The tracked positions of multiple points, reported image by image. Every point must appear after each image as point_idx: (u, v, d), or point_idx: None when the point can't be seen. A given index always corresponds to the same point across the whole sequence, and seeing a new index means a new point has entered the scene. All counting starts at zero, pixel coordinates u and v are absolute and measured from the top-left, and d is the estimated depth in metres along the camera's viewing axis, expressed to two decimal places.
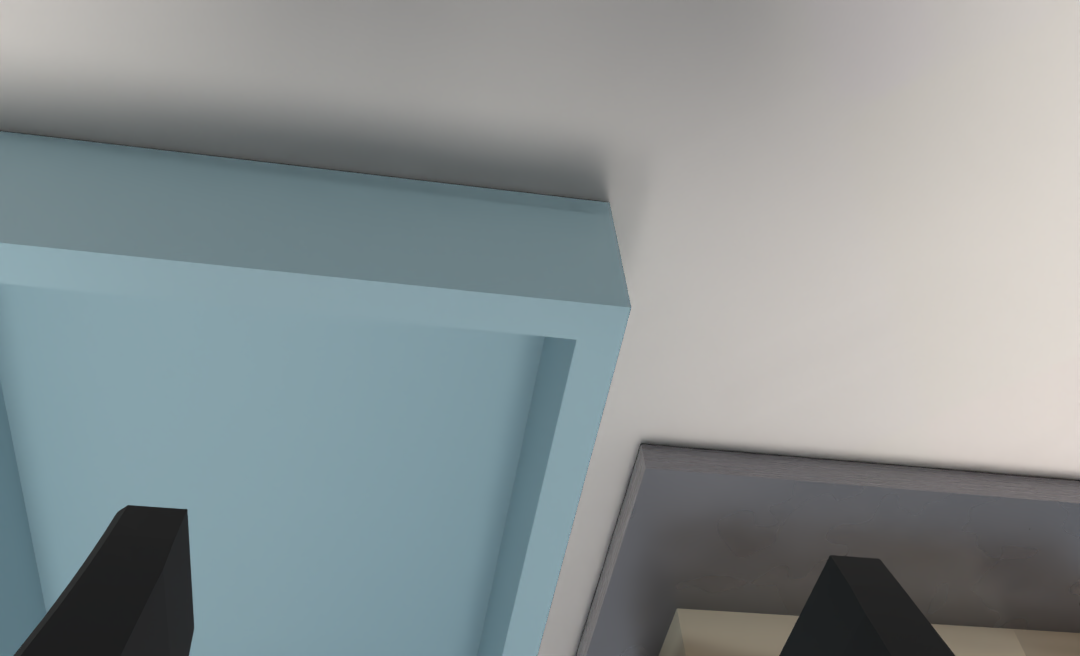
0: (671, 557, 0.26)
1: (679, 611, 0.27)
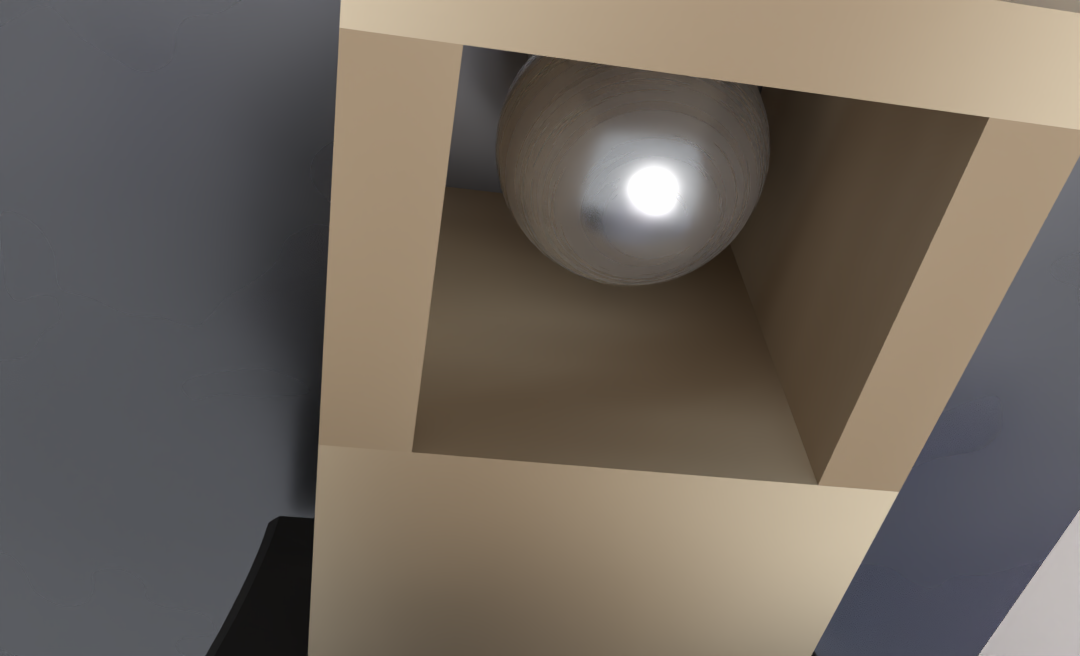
0: None
1: None
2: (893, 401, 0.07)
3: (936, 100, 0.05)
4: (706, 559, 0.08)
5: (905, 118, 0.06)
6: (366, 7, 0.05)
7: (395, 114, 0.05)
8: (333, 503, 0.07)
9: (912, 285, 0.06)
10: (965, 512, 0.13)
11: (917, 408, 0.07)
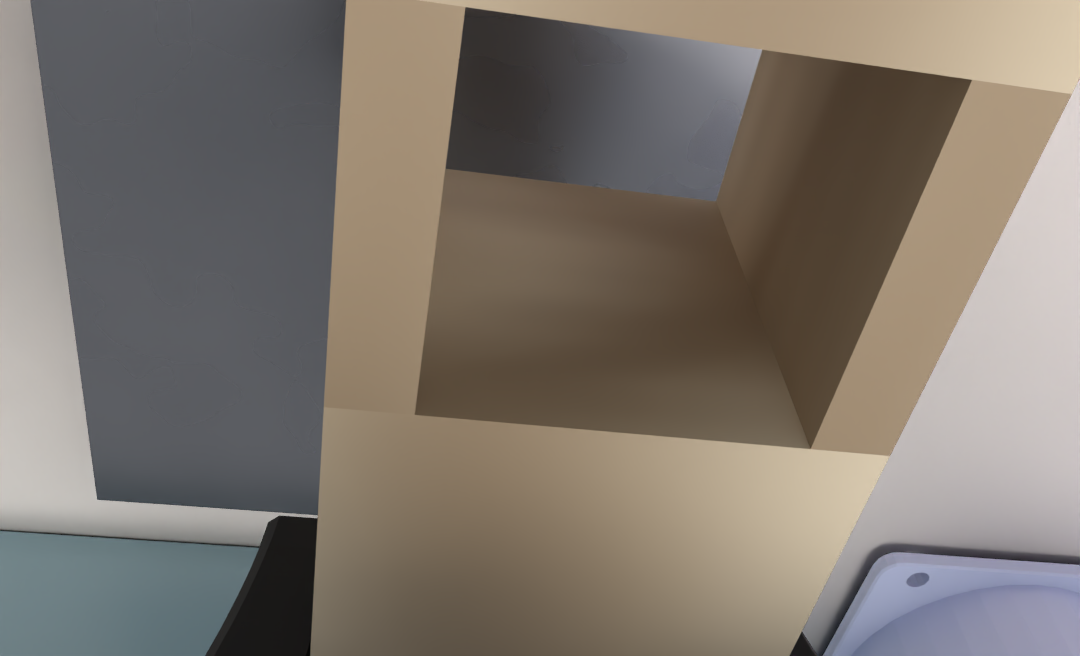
0: (252, 462, 0.20)
1: None
2: (883, 364, 0.07)
3: (921, 63, 0.06)
4: (700, 523, 0.08)
5: (893, 88, 0.07)
6: None
7: (400, 77, 0.05)
8: (337, 467, 0.07)
9: (900, 248, 0.06)
10: None
11: (906, 371, 0.07)
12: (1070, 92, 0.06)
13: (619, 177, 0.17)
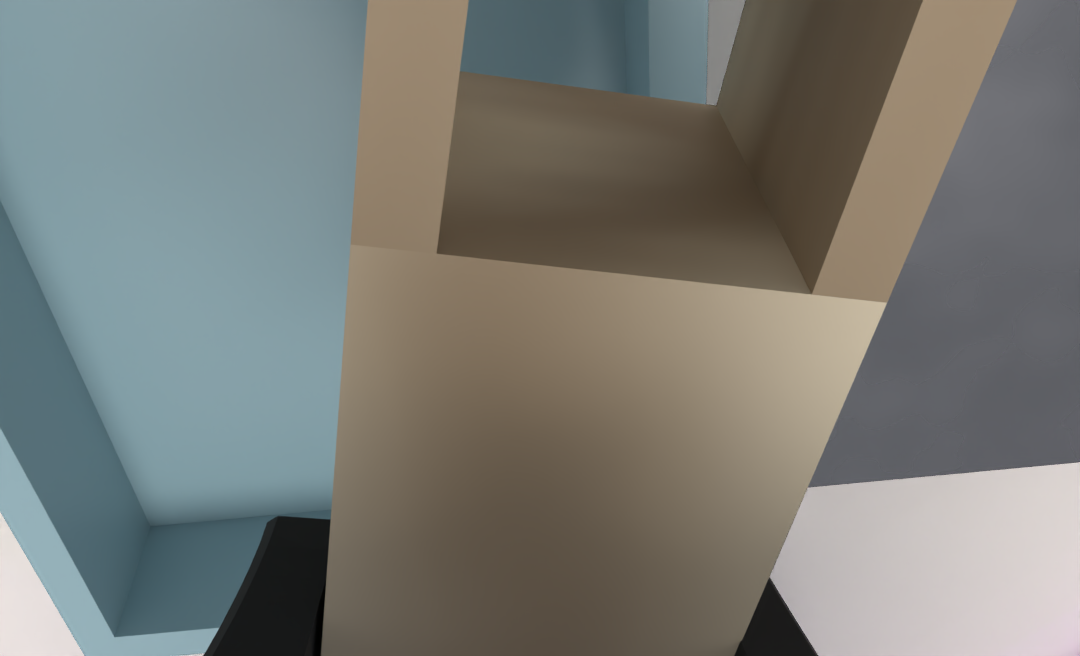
0: None
1: None
2: (879, 203, 0.07)
3: None
4: (708, 375, 0.08)
5: None
6: None
7: None
8: (362, 310, 0.08)
9: (895, 79, 0.07)
10: None
11: (902, 210, 0.07)
12: None
13: None
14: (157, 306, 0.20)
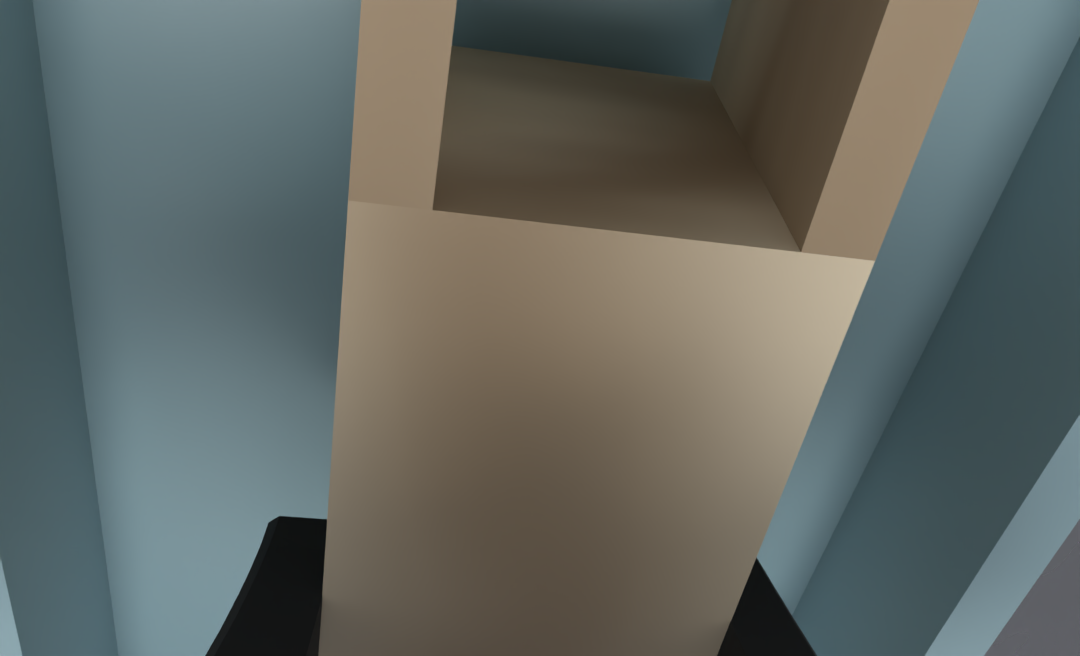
0: None
1: None
2: (866, 159, 0.07)
3: None
4: (699, 334, 0.08)
5: None
6: None
7: None
8: (359, 267, 0.08)
9: (879, 34, 0.07)
10: None
11: (888, 167, 0.07)
12: None
13: None
14: (239, 484, 0.15)
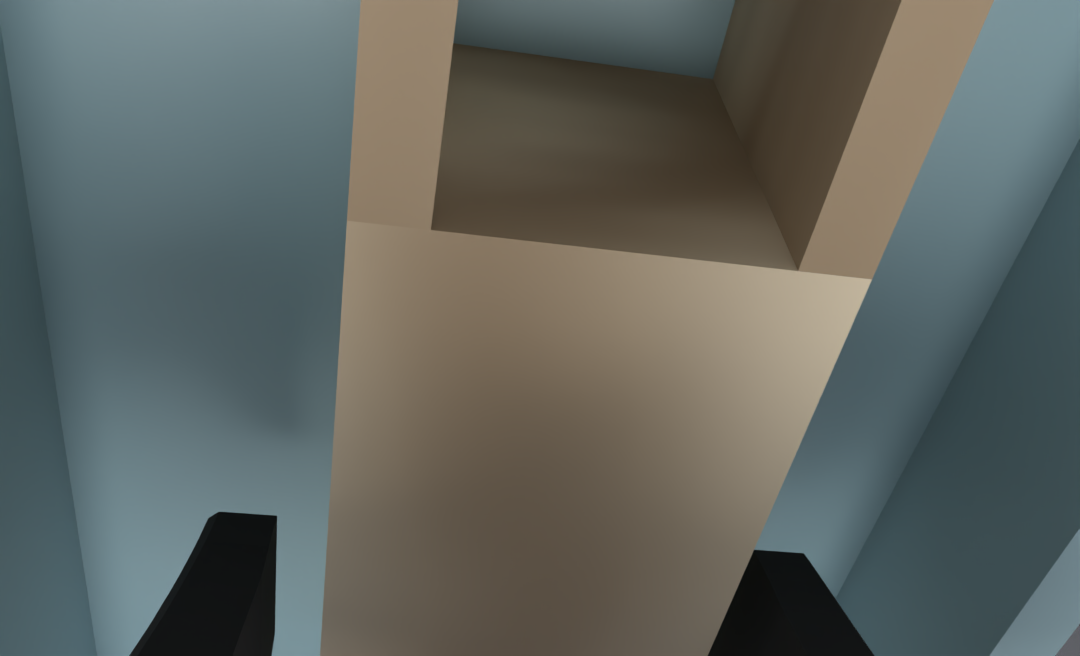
0: None
1: None
2: (865, 182, 0.07)
3: None
4: (697, 347, 0.08)
5: None
6: None
7: None
8: (359, 283, 0.08)
9: (878, 61, 0.07)
10: None
11: (886, 190, 0.07)
12: None
13: None
14: None
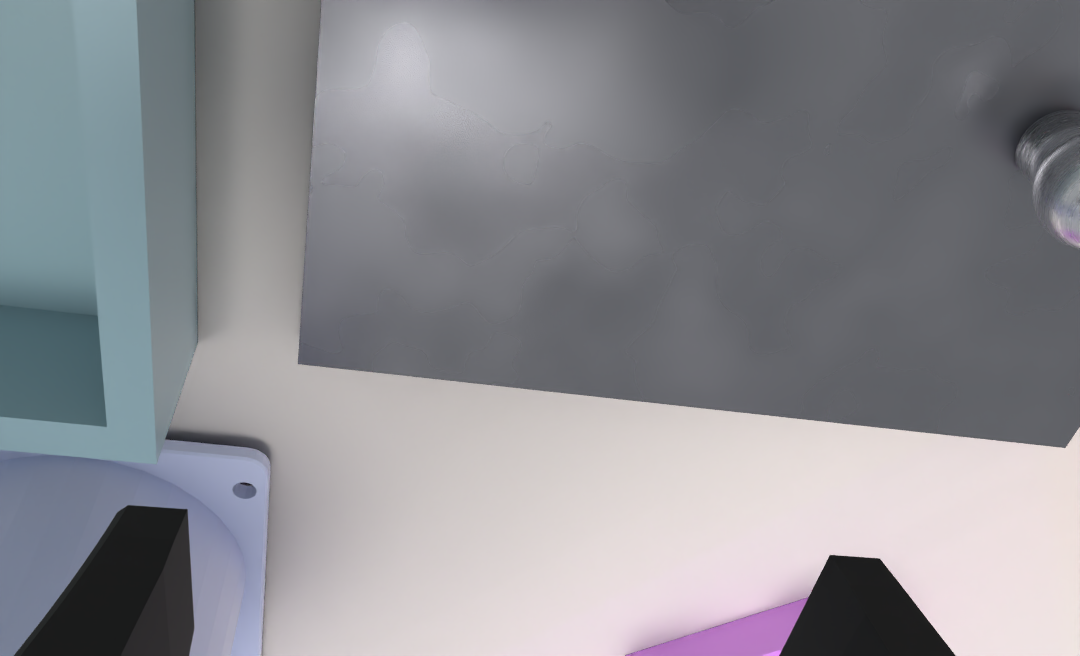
0: None
1: None
2: None
3: None
4: None
5: None
6: None
7: None
8: None
9: None
10: (696, 353, 0.21)
11: None
12: None
13: (787, 198, 0.19)
14: None
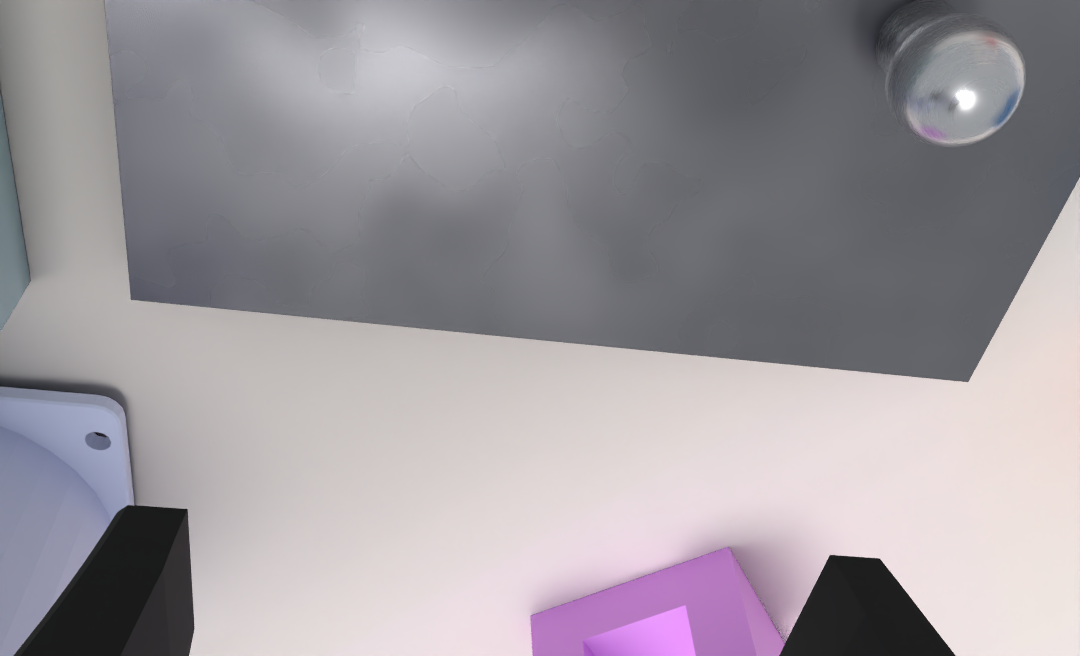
0: None
1: None
2: None
3: None
4: None
5: None
6: None
7: None
8: None
9: None
10: (556, 281, 0.20)
11: None
12: None
13: (633, 106, 0.18)
14: None
